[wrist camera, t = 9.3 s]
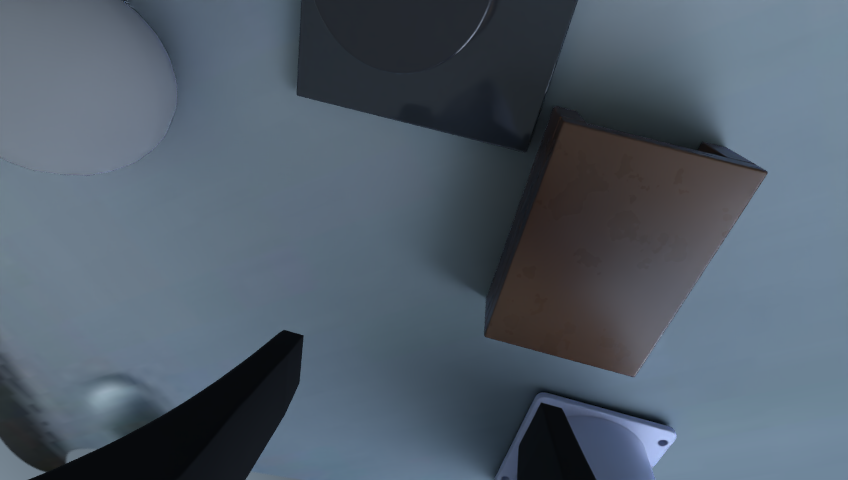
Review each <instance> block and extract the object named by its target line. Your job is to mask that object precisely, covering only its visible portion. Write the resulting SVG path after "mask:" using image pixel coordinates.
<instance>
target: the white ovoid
mask: <svg viewBox="0 0 848 480" xmlns="http://www.w3.org/2000/svg"><path fill="white" fill-rule="evenodd" d="M176 107H177V81H176V77H175V74H174V70H173V67H172V63H171V60H170V57H169V55H168V54H167V52H166V50H165V48H164V46H163V45H162V43H161V41H160V39H159V37H158V35H157V34H156V33H155V32H154V30H153V29H152V28H151V27H150V26H149V25H148V24H147V22H146V21H145V20H144V19H143V18H142V17H141V16H140V14H139V13H138V12H136V11H135V10H134V9H132V8H131V7H130V6H128V5H127V4H126V3H124V2H123V1H122V0H0V158H2V159H4V160H6V161H8V162H10V163H13V164H16V165H19V166H21V167H24V168H27V169H30V170H33V171H39V172H46V173H53V174H60V175H77V176H90V175H95V174H100V173H105V172H110V171H114V170H117V169H120V168H123V167H125V166H128V165H131V164H133V163H135V162H136V161H138V160H139V159H141V158H142V157H144V156H145V155H147V154H148V153H150V152H151V151H152V150H153V149H154V148H155V147H156V146H157V145H158V144H159V143H160V142H161V141H162V139H163V138H164V137H165V135H166V133H167V131H168V128H169V126H170V124H171V121H172V118H173V115H174V112H175V110H176Z"/></svg>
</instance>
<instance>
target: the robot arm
mask: <svg viewBox="0 0 848 480" xmlns="http://www.w3.org/2000/svg"><path fill="white" fill-rule="evenodd" d="M303 337H304V335H300V334H297V333H293V332H290V331H286V330H283V331H281V332H280V333H278V334H277V335H276V336H275V337H274V338H272V339H271V340H270V341H269V342H267V343H266V344H265V345H264V346H262V347H261V348H260V349H259V350H257V351H256V352H255V353H254V354H252V355H251V356H250V357H248V358H247V359H246V360H245V361H243V362H242V363H241V364H239V365H238V366H236V367H235V368H234V369H232V370H231V371H230V372H228V373H227V374H226V375H224V376H223V377H221V378H220V379H219V380H217V381H216V382H214V383H213V384H211V385H210V386H208V387H207V388H205V389H204V390H202V391H201V392H199V393H198V394H196V395H195V396H193V397H192V398H190V399H189V400H187V401H186V402H184V403H182V404H181V405H179V406H177V407H176V408H174V409H172V410H171V411H169V412H167V413H166V414H164V415H162V416H161V417H159V418H157V419H155V420H154V421H152V422H150V423H148V424H146V425H144V426H143V427H141V428H139V429H137V430H135V431H133V432H131V433H129V434H128V435H126V436H124V437H122V438H120V439H118V440H116V441H114V442H112V443H110V444H108V445H106V446H104V447H102V448H100V449H97V450H95V451H93V452H91V453H89V454H86V455H84V456H82V457H80V458H78V459H76V460H73V461H71V462H69V463H67V464H64V465H62V466H60V467H58V468H56V469H53V470H51V471H49V472H46V473H44V474H42V475H39V476H36V477H34V478H31V479H29V480H245V479H246V478H247V476H248V475H249V473H250V471H251V470H252V468H253V466H254V465H255V463H256V461H257V460H258V458H259V457H260V455H261V453H262V452H263V450H264V448H265V447H266V445H267V443H268V442H269V440H270V438H271V437H272V435H273V433H274V432H275V430H276V428H277V427H278V425H279V423H280V422H281V420H282V418H283V417H284V415H285V413H286V411H287V409H288V407H289V404H290V402H291V400H292V398H293V396H294V394H295V391H296V389H297V387H298V385H299V382H300V371H301V359H302V348H303ZM676 437H677V436H676V433H675V430H674V429H673V428H672V427H669V426H666V425H662V424H658V423H655V422H651V421H648V420H644V419H640V418H637V417H633V416H629V415H626V414H622V413H618V412H615V411H611V410H608V409H604V408H600V407H597V406H593V405H589V404H586V403H582V402H578V401H575V400H571V399H568V398H564V397H560V396H557V395H553V394H549V393H545V392H543V393H539V394H537V395H536V396H535V398H534V401H533V403H532V405H531V407H530V409H529V411H528V413H527V415H526V417H525V419H524V421H523V423H522V425H521V427H520V429H519V431H518V433H517V435H516V437H515V439H514V441H513V443H512V445H511V447H510V449H509V451H508V453H507V455H506V457H505V459H504V461H503V463H502V465H501V467H500V469H499V471H498V473H497V475H496V477H495V479H494V480H655V477H654V474H653V471H652V468H653V467H654V465H655V464H656V463H657V462H658V460H659V459H660V458H661V457H662V455H663V454H664V453H665V452H666V450H667V449H668V448H669V447H670V445H671V444H672V443H673V442H674V441H675V439H676Z"/></svg>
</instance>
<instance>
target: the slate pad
mask: <svg viewBox="0 0 848 480" xmlns="http://www.w3.org/2000/svg"><path fill="white" fill-rule="evenodd" d="M577 1H578V0H494V2H493V5H492V8H491V11H490V13H489V15H488V17H487V19H486V21H485V22H484V24H483V26H482V27H481V28H480V30H479V31H478V32H477V34H476V35H475V36H474V38H473V39H472V40H471V41H470V42H469V43H468V44H467V45H466V46H465V47H464V49H463V50H461V51H460V52H459V53H458V54H456V55H455V56H454V57H453V58H451V59H450V60H448V61H446V62H445V63H443V64H441V65H440V66H437V67H435V68H432V69H430V70H427V71H423V72H419V73H411V74H395V73H389V72H384V71H381V70H378V69H375V68H372V67H370V66H368V65H366V64H364V63H362V62H361V61H359V60H358V59H356V58H354V57H353V56H352V55H351V54H349V53H348V52H347V51H346V50H345V49H344V48H343V47H342V46H341V45H340V44H339V43H338V42H337V41H336V40H335V38H334V37H333V36H332V34H331V33H330V32H329V30H328V29H327V27H326V25H325V24H324V22H323V20H322V18H321V16H320V14H319V12H318V10H317V7H316V5H315V2H314V0H302V1H301V20H300V40H299V59H298V79H297V95H298V96H301V97H305V98H309V99H313V100H317V101H321V102H325V103H329V104H333V105H337V106H341V107H345V108H349V109H353V110H357V111H361V112H365V113H369V114H373V115H377V116H381V117H385V118H389V119H393V120H397V121H401V122H405V123H409V124H413V125H417V126H421V127H425V128H429V129H433V130H437V131H441V132H445V133H449V134H453V135H457V136H461V137H465V138H469V139H473V140H477V141H481V142H485V143H489V144H493V145H497V146H501V147H505V148H509V149H513V150H517V151H521V152H527V149H528V146H529V143H530V141H531V138H532V135H533V132H534V129H535V126H536V123H537V120H538V117H539V114H540V111H541V108H542V105H543V102H544V99H545V96H546V93H547V90H548V87H549V84H550V81H551V78H552V75H553V72H554V69H555V67H556V64H557V61H558V58H559V55H560V52H561V49H562V46H563V43H564V40H565V37H566V34H567V31H568V28H569V25H570V22H571V19H572V16H573V13H574V10H575V7H576V4H577Z"/></svg>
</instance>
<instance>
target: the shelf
mask: <svg viewBox="0 0 848 480" xmlns="http://www.w3.org/2000/svg"><path fill="white" fill-rule="evenodd" d="M766 175H767V171H766V170H764V169H762V168H761V167H759V166H757V165H755V164H754V163H752V162H751V161H749V160H747V159H746V158H744V157H742V156H740V155H739V154H737V153H735V152H733V151H732V150H730V149H728V148H726V147H722V146H718V145H714V144H710V143H706V142H702V143H701V145H700V147H699V149H698V150H694V149H690V148H686V147H682V146H678V145H674V144H669V143H665V142H661V141H657V140H653V139H649V138H645V137H641V136H637V135H633V134H629V133H625V132H621V131H617V130H613V129H608V128H604V127H600V126H596V125H592V124H588V123H586V122H585V121H584V119H583V118H582V117H581V116H580V114H579V113H578V112H577V111H575V110H571V109H566V108H562V107H558V106H554V107H553V110H552V113H551V115H550V118H549V121H548V124H547V127H546V130H545V132H544V135H543V138H542V141H541V144H540V147H539V149H538V152H537V155H536V158H535V161H534V164H533V167H532V169H531V172H530V175H529V178H528V181H527V184H526V186H525V189H524V192H523V195H522V198H521V201H520V204H519V206H518V209H517V212H516V215H515V218H514V221H513V223H512V226H511V229H510V232H509V235H508V238H507V241H506V243H505V246H504V249H503V252H502V255H501V258H500V260H499V263H498V266H497V269H496V272H495V275H494V278H493V280H492V283H491V286H490V289H489V292H488V295H487V297H486V311H485V329H484V336H485V337H487V338H491V339H495V340H498V341H502V342H506V343H509V344H513V345H517V346H521V347H524V348H528V349H532V350H535V351H539V352H543V353H546V354H550V355H554V356H557V357H561V358H565V359H569V360H572V361H576V362H580V363H583V364H587V365H591V366H594V367H598V368H602V369H605V370H609V371H613V372H616V373H620V374H624V375H628V376H631V377H635V376H636V374H637V373H638V371H639V370H640V368H641V367H642V365H643V364H644V362H645V360H646V359H647V357H648V356H649V354H650V353H651V351H652V350H653V348H654V347H655V345H656V344H657V342H658V341H659V339H660V337H661V336H662V334H663V333H664V331H665V330H666V328H667V327H668V325H669V324H670V322H671V321H672V319H673V318H674V316H675V314H676V313H677V311H678V310H679V308H680V307H681V305H682V304H683V302H684V301H685V299H686V298H687V296H688V295H689V293H690V291H691V290H692V288H693V287H694V285H695V284H696V282H697V281H698V279H699V278H700V276H701V275H702V273H703V271H704V270H705V268H706V267H707V265H708V264H709V262H710V261H711V259H712V258H713V256H714V255H715V253H716V252H717V250H718V248H719V247H720V245H721V244H722V242H723V241H724V239H725V238H726V236H727V235H728V233H729V232H730V230H731V229H732V227H733V225H734V224H735V222H736V221H737V219H738V218H739V216H740V215H741V213H742V212H743V210H744V209H745V207H746V206H747V204H748V202H749V201H750V199H751V198H752V196H753V195H754V193H755V192H756V190H757V189H758V187H759V186H760V184H761V182H762V181H763V179H764V178H765V176H766Z"/></svg>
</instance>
